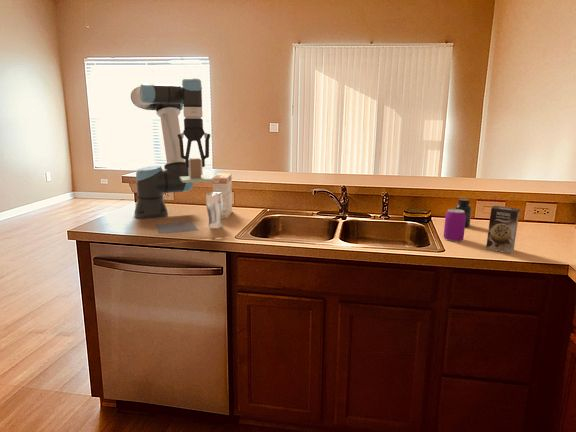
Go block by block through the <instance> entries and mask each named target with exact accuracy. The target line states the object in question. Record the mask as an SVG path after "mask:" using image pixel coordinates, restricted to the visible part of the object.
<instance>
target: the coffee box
mask: <svg viewBox="0 0 576 432" xmlns="http://www.w3.org/2000/svg"><path fill="white" fill-rule="evenodd" d="M520 211H521V209H520V208H517V207H509V206H500V205H493V206H492V207H491V210H490V218H489V223H488V224H489V225H488V231H487V238H486V246H485V250H487V249H490V250H489V251H493V250H497V251H496V252H498V251H503V252H502V253H504V252H509V253H508V254H510V253H512V254H513V253H514V251H513V250H515V245H516V244H515V243H516V238H517V237H516V236H517V229H518V223H519V218H520Z"/></svg>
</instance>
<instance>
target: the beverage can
mask: <svg viewBox="0 0 576 432" xmlns="http://www.w3.org/2000/svg"><path fill="white" fill-rule="evenodd" d="M465 221H466V216H465V211H464V210H460V209H455V208H448V209H447V211H446V213H445V219H444V226H443V227H444V228H443V229H444V230H443V238H444V239H445V240H446V239H447V240H446V241H449V240H450V241H449V242H455V241H458V242H461V241H462V240H464V239H465V238H464V236H465V230H466V229H465V228H466V227H465Z"/></svg>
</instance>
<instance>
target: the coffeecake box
mask: <svg viewBox="0 0 576 432" xmlns="http://www.w3.org/2000/svg"><path fill="white" fill-rule="evenodd" d="M211 178H212V181H211V182H212V192H218V193H222V200H223V207H222V215H221V219H228V218H229V217H230V215H231V214H232V212H233V192H232V190H233V189H232V188H233V186H232V185H233V181H232V179H233V178H232V173H229V172H228V173H227V172H224V173H223V172H219V173H216V175H213V177H211Z"/></svg>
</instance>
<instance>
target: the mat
mask: <svg viewBox="0 0 576 432" xmlns="http://www.w3.org/2000/svg"><path fill="white" fill-rule="evenodd" d="M155 228H156V230H157V233H158V234H160V235H161V234H174V233H182V232H183V233H185V232H186V233H187V232H194V231H199V229H198V228H197V226H196V225H195V223H194V222H193V221H181V222H171V223H170V222H169V223H156V224H155Z"/></svg>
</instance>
